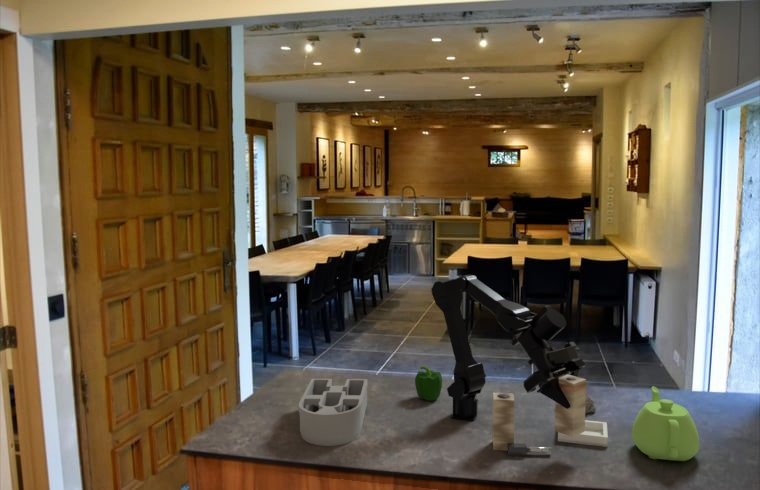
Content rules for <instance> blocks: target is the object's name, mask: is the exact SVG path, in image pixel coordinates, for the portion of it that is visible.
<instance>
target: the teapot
mask: <svg viewBox="0 0 760 490" xmlns="http://www.w3.org/2000/svg"><path fill="white" fill-rule="evenodd" d="M659 391H660V390H659V388H658V387H656V386H651V394H652V395H651V401H649V402H646V403H645V404H644V405H643V406H642V407H641V409H640V411H638V414H637V416H636V417H635V419H634V422H633V425H632V428H631V429H632V430H631V438H632V440H633V442H634V444H635V445H636V447H637V449H639V451H640V452H642V454H645V455H647V457H648V458H649V459H653V460H667V461H678V462H679V461H680V462H686V461H688V460H690V459H692V458H693V457H694V456H696V454H697V453H698V452H699V450H700V437H699V432H698V429H697V427H696V423H695V422H694V420H693V418H692V416H691V414H690V413H689V411H688V409H686V408H685V407H684V406H682V405H680V404H677V403H674V401H673V400H671V399H666V398H665V399H664V398H663V399H661V396H660V392H659Z"/></svg>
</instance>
